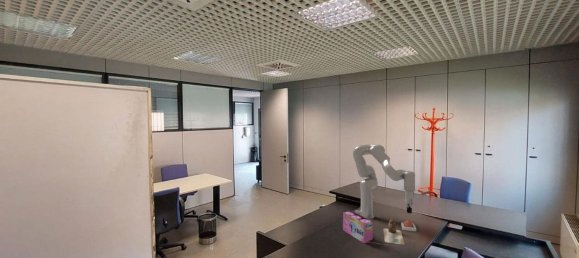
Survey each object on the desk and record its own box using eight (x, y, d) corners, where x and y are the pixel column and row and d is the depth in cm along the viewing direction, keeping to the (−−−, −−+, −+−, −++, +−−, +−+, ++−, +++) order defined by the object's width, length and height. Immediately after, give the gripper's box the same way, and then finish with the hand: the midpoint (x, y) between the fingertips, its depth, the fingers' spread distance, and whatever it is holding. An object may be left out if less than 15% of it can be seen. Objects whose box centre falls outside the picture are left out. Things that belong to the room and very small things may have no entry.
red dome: (405, 228, 187) (405, 220, 186) (404, 225, 191) (404, 218, 191) (412, 229, 185) (413, 221, 185) (411, 226, 190) (411, 219, 190)
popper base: (402, 231, 185) (402, 227, 185) (401, 226, 194) (401, 222, 194) (416, 232, 183) (416, 228, 183) (414, 227, 191) (414, 223, 191)
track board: (384, 243, 167) (384, 241, 167) (383, 229, 188) (383, 228, 188) (404, 246, 163) (404, 244, 163) (400, 231, 184) (400, 230, 184)
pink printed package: (341, 229, 188) (341, 211, 188) (349, 227, 192) (349, 209, 191) (364, 243, 167) (364, 223, 166) (373, 241, 170) (373, 221, 170)
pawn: (388, 232, 181) (388, 220, 180) (388, 229, 185) (388, 217, 185) (396, 233, 179) (396, 221, 179) (395, 230, 184) (395, 218, 184)
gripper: (402, 185, 195) (402, 209, 196) (405, 190, 181) (405, 215, 182) (413, 186, 193) (413, 209, 193) (416, 191, 179) (416, 217, 179)
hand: (409, 212), depth 187 cm, fingers closed
